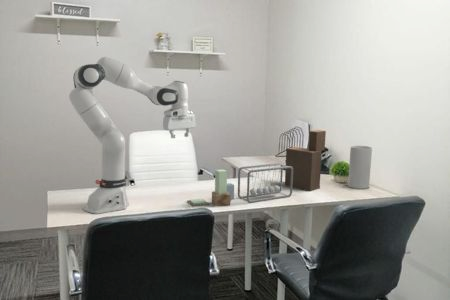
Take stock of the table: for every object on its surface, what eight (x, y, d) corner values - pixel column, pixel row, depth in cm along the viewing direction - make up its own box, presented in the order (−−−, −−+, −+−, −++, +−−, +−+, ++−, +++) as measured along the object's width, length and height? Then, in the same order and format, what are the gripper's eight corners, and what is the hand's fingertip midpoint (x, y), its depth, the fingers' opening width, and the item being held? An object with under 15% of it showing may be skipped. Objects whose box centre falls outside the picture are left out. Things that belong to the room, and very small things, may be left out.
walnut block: (215, 206, 214) (215, 195, 213) (211, 202, 222) (211, 191, 221) (230, 205, 216) (230, 194, 215) (226, 201, 224) (226, 190, 223)
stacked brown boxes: (323, 187, 257) (326, 130, 251) (310, 191, 247) (313, 132, 241) (297, 181, 270) (300, 127, 264) (284, 185, 260) (286, 129, 254)
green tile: (192, 206, 214) (192, 204, 213) (187, 201, 222) (187, 199, 222) (209, 204, 217) (209, 202, 217) (202, 199, 225) (203, 197, 225)
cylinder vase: (343, 185, 263) (346, 146, 259) (358, 183, 268) (361, 145, 264) (358, 190, 252) (361, 149, 248) (373, 188, 258) (376, 148, 253)
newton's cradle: (247, 203, 220) (248, 170, 217) (237, 198, 229) (237, 167, 226) (292, 196, 235) (293, 165, 232) (280, 192, 244) (282, 162, 241)
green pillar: (219, 194, 215) (219, 171, 213) (215, 192, 219) (215, 170, 217) (226, 193, 217) (226, 170, 216) (222, 191, 221) (222, 169, 219)
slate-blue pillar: (226, 200, 226) (226, 185, 225) (223, 197, 230) (223, 183, 229) (233, 199, 228) (234, 185, 227) (230, 197, 232) (230, 183, 231)
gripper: (190, 110, 233) (190, 135, 235) (161, 112, 218) (161, 138, 220) (198, 111, 228) (198, 136, 231) (168, 113, 214) (168, 139, 216)
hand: (179, 137), depth 226 cm, fingers open, 8 cm apart
